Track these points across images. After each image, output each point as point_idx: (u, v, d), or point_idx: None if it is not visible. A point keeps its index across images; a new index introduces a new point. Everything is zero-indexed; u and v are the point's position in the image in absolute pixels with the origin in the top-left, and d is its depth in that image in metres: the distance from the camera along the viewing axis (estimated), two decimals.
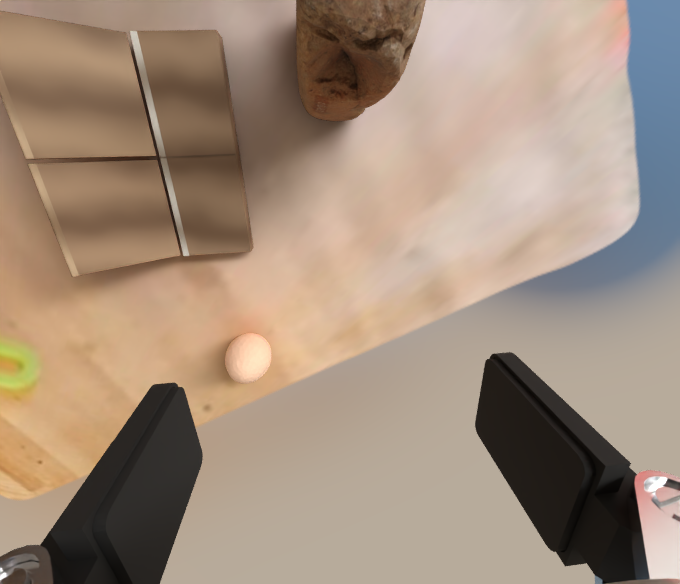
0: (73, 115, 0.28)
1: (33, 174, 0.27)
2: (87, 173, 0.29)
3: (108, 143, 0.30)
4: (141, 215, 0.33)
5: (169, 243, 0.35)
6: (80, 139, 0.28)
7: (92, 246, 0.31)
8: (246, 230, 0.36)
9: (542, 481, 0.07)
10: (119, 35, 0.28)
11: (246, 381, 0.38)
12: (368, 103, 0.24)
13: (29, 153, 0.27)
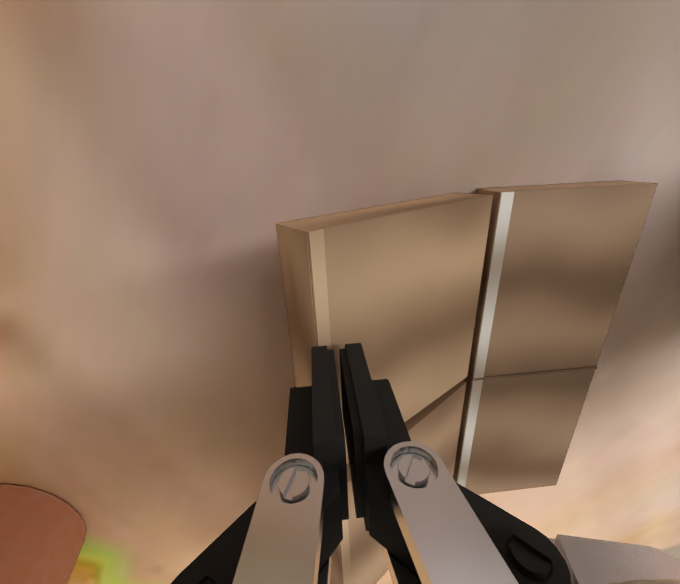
0: (400, 370, 0.14)
1: None
2: None
3: (426, 389, 0.16)
4: None
5: None
6: (398, 403, 0.15)
7: (375, 557, 0.17)
8: (562, 460, 0.22)
9: (351, 456, 0.08)
10: (484, 202, 0.14)
11: None
12: None
13: None
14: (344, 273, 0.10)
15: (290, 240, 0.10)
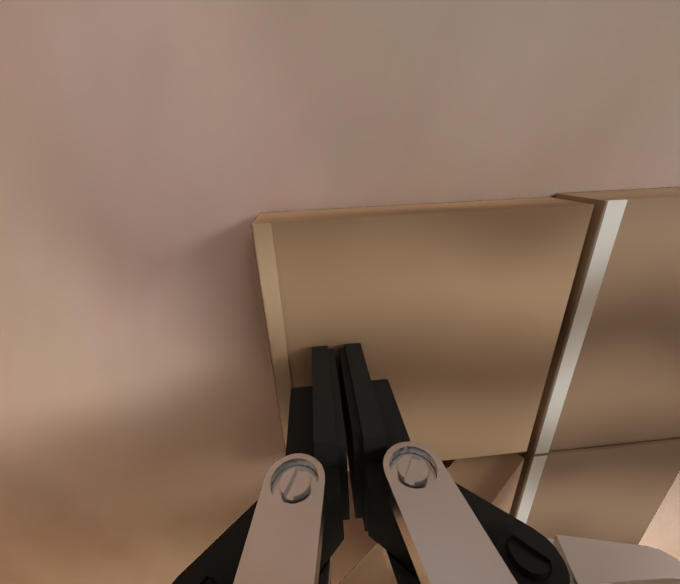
0: None
1: None
2: None
3: (440, 440, 0.13)
4: None
5: None
6: None
7: None
8: (635, 544, 0.17)
9: (351, 456, 0.08)
10: (572, 214, 0.09)
11: None
12: None
13: None
14: (302, 274, 0.09)
15: None
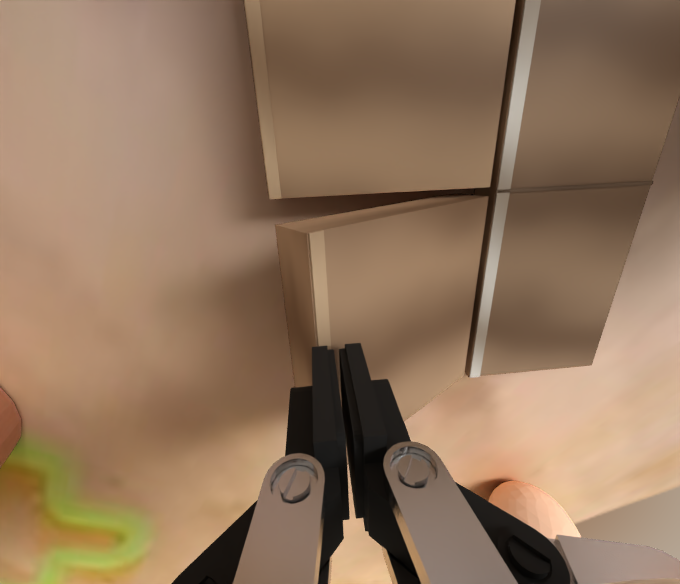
0: (362, 107, 0.13)
1: (313, 261, 0.09)
2: (396, 243, 0.11)
3: (408, 163, 0.14)
4: (442, 317, 0.15)
5: (458, 359, 0.17)
6: (362, 157, 0.13)
7: None
8: (601, 329, 0.18)
9: (351, 456, 0.08)
10: None
11: None
12: None
13: (276, 189, 0.14)
14: None
15: None
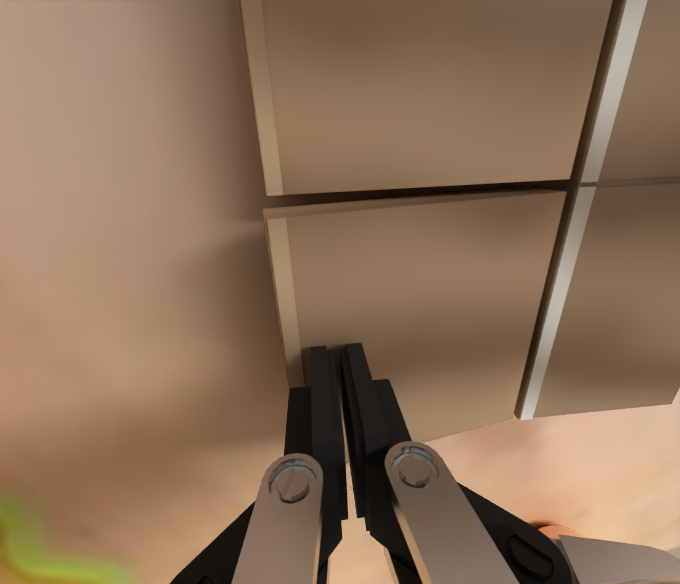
0: (400, 62, 0.09)
1: (273, 249, 0.09)
2: (395, 240, 0.10)
3: (461, 145, 0.10)
4: (474, 339, 0.12)
5: (502, 396, 0.14)
6: (397, 137, 0.10)
7: None
8: None
9: (352, 456, 0.08)
10: None
11: None
12: None
13: (276, 182, 0.10)
14: None
15: None
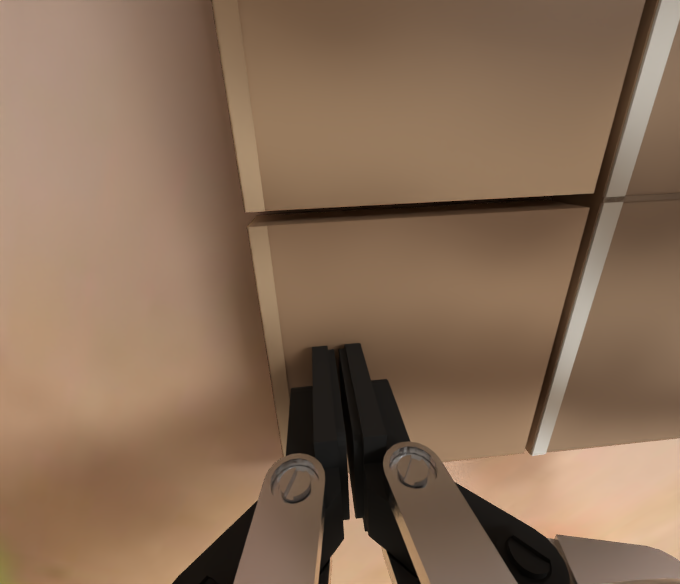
0: (400, 57, 0.07)
1: (255, 256, 0.09)
2: (382, 253, 0.09)
3: (470, 155, 0.08)
4: (475, 363, 0.11)
5: (511, 428, 0.13)
6: (397, 145, 0.08)
7: None
8: None
9: (350, 456, 0.08)
10: None
11: None
12: None
13: (257, 197, 0.08)
14: None
15: None
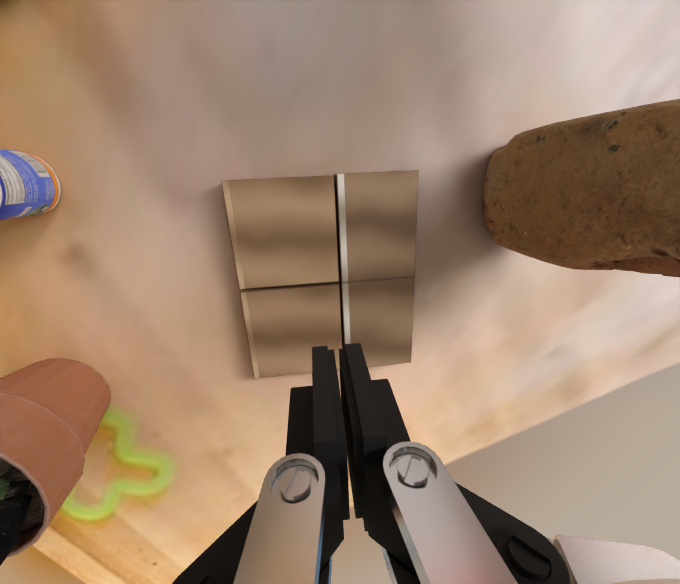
0: (277, 253, 0.31)
1: (242, 300, 0.32)
2: (279, 298, 0.32)
3: (300, 273, 0.32)
4: (315, 332, 0.34)
5: (335, 357, 0.35)
6: (279, 271, 0.31)
7: (273, 356, 0.35)
8: (410, 343, 0.36)
9: (350, 456, 0.08)
10: (327, 178, 0.29)
11: None
12: None
13: (243, 285, 0.31)
14: (239, 198, 0.29)
15: None
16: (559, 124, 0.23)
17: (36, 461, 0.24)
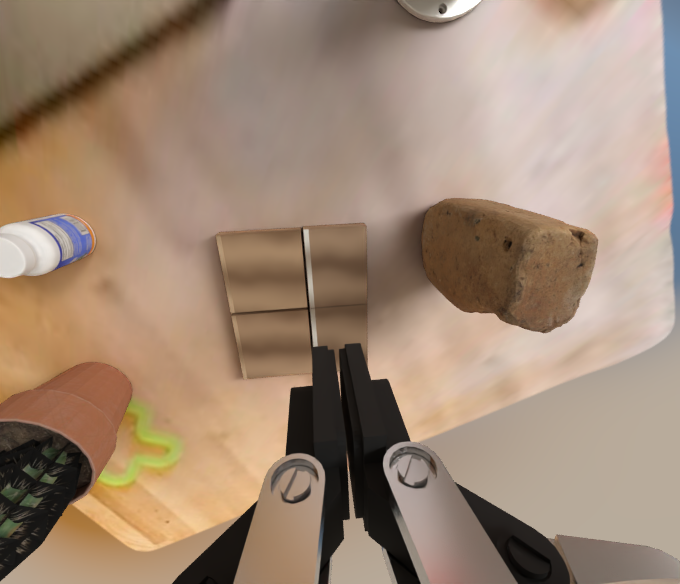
0: (259, 286, 0.40)
1: (233, 321, 0.41)
2: (261, 320, 0.42)
3: (277, 301, 0.41)
4: (290, 345, 0.44)
5: (306, 364, 0.45)
6: (261, 300, 0.41)
7: (257, 362, 0.44)
8: (366, 354, 0.45)
9: (350, 456, 0.08)
10: (295, 233, 0.38)
11: None
12: None
13: (233, 310, 0.41)
14: (228, 248, 0.38)
15: None
16: (458, 206, 0.32)
17: (86, 439, 0.34)
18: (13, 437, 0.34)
